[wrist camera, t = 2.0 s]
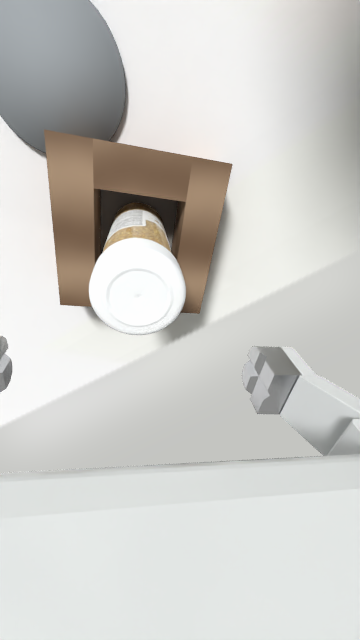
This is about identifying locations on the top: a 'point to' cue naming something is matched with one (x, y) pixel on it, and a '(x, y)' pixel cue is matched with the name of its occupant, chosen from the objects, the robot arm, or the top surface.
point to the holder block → (134, 178)
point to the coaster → (59, 70)
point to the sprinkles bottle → (137, 274)
